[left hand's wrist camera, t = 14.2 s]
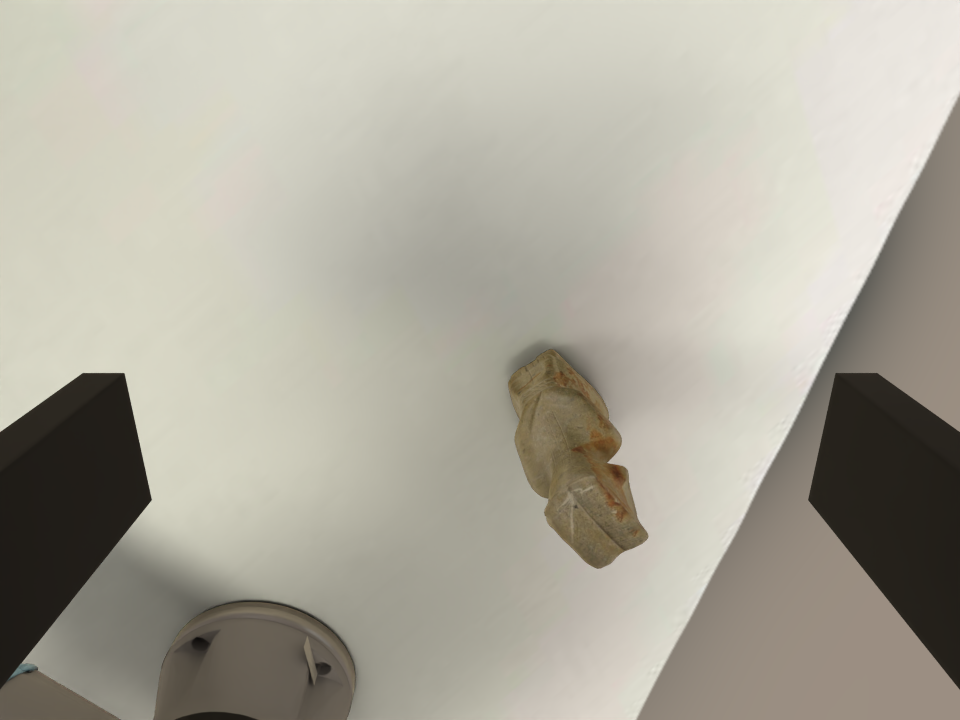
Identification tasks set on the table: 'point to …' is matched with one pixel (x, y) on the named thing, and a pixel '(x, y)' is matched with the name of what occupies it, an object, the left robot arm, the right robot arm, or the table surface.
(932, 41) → the table surface
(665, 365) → the table surface
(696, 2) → the table surface
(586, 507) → the sculpture
